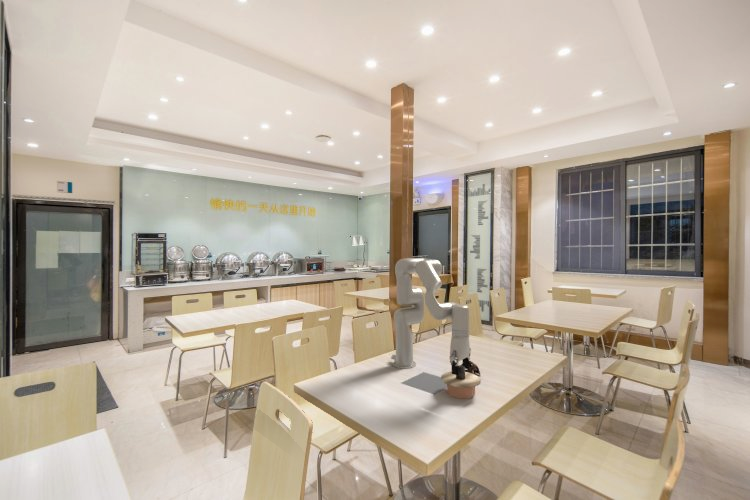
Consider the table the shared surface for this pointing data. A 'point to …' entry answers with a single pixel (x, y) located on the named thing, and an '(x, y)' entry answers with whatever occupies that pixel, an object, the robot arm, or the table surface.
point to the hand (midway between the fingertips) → (460, 371)
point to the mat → (426, 383)
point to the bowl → (460, 391)
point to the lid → (461, 379)
